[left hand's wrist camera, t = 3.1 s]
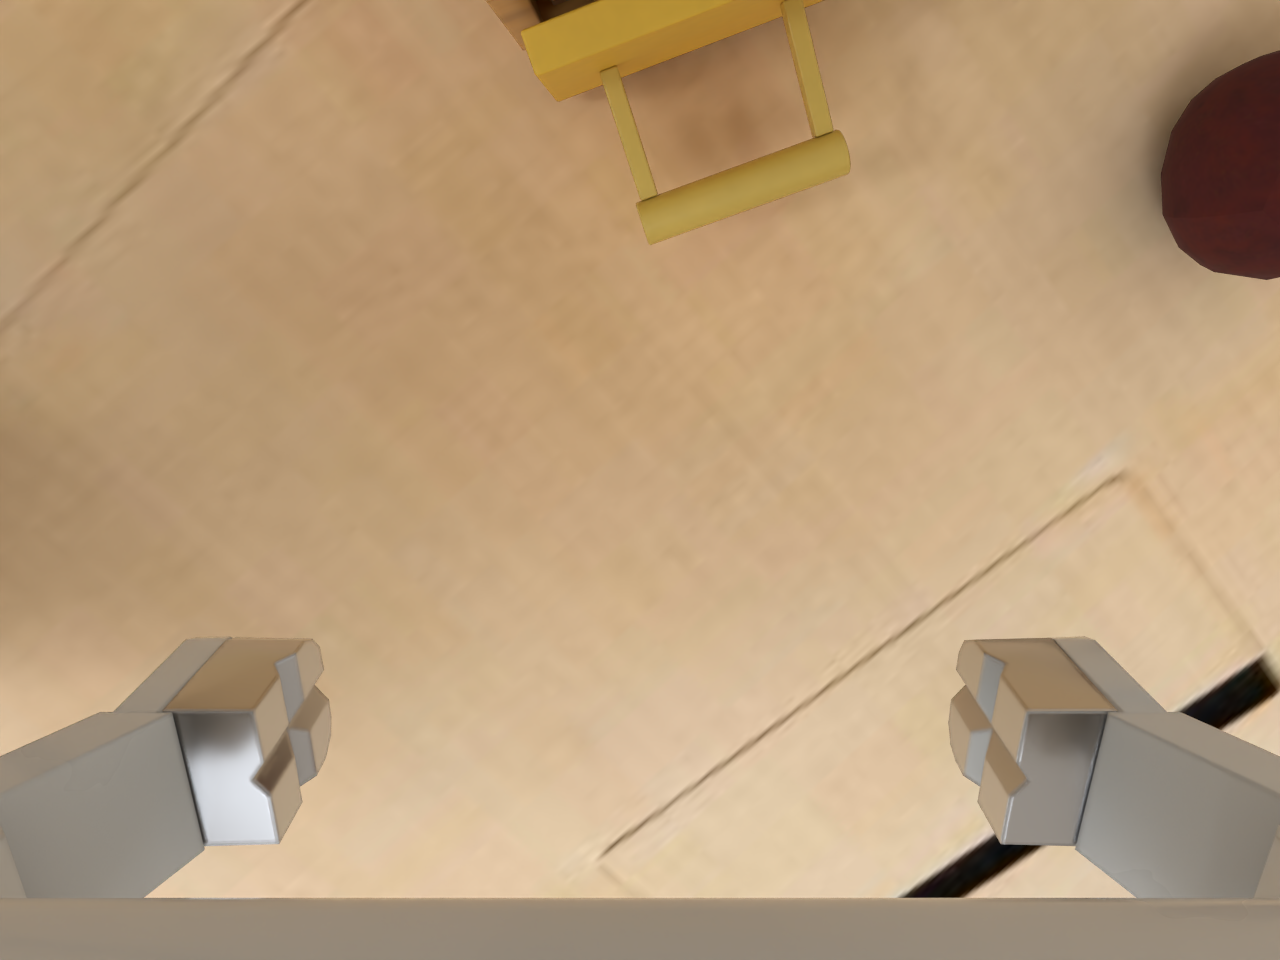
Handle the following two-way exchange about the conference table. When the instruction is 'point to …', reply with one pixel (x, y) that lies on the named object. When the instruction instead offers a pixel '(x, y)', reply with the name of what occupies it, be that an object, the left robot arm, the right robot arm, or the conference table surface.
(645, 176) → the drawer
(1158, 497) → the conference table surface
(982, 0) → the conference table surface
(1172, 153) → the dark red ball
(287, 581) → the conference table surface
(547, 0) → the cabinet
